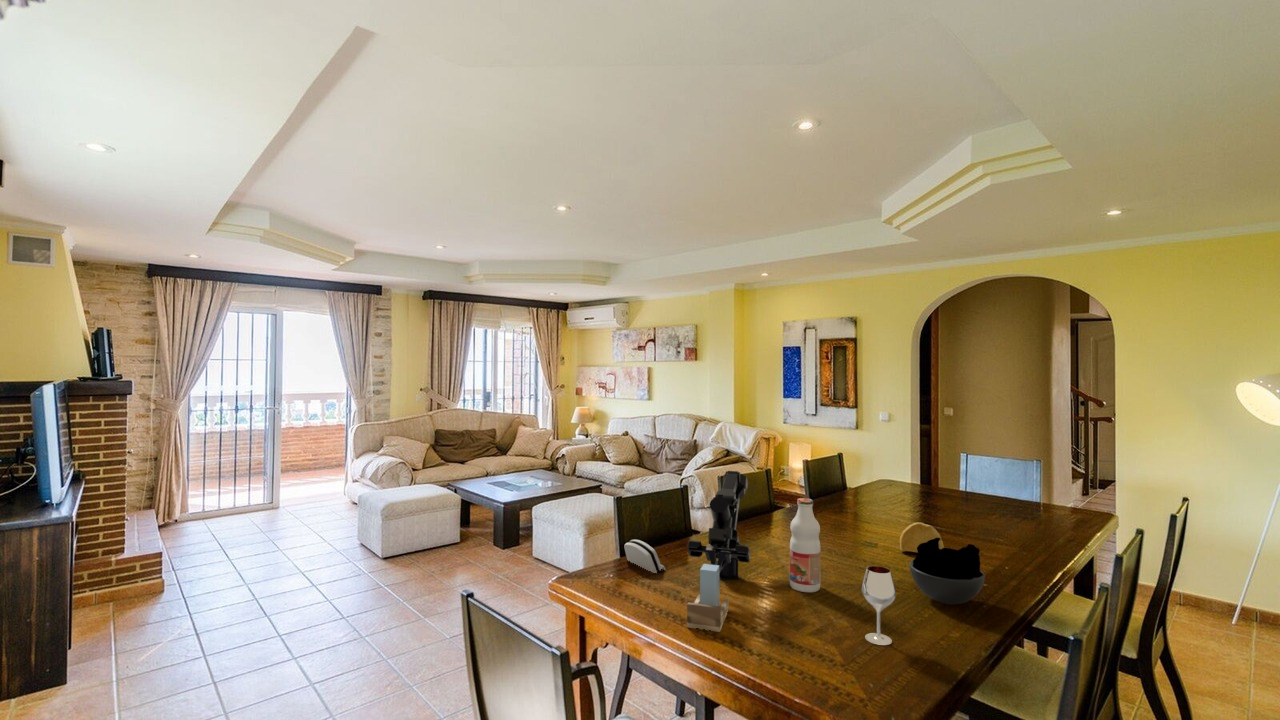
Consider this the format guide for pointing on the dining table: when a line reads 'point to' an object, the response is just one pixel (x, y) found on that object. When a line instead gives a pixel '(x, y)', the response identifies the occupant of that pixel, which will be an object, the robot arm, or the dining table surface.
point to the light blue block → (709, 585)
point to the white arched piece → (643, 555)
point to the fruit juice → (805, 549)
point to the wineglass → (878, 597)
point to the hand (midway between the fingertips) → (714, 577)
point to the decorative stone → (918, 536)
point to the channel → (706, 615)
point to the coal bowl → (947, 572)
